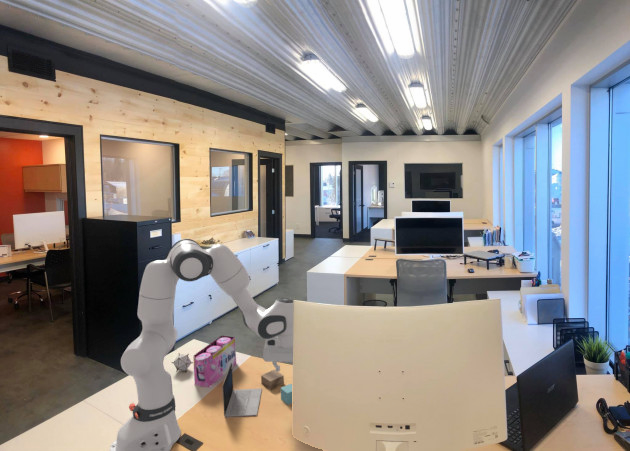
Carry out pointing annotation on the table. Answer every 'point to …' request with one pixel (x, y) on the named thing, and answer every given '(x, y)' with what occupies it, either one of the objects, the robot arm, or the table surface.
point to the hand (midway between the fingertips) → (289, 371)
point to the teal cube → (286, 394)
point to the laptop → (239, 399)
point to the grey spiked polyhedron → (182, 362)
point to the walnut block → (272, 379)
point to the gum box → (214, 361)
